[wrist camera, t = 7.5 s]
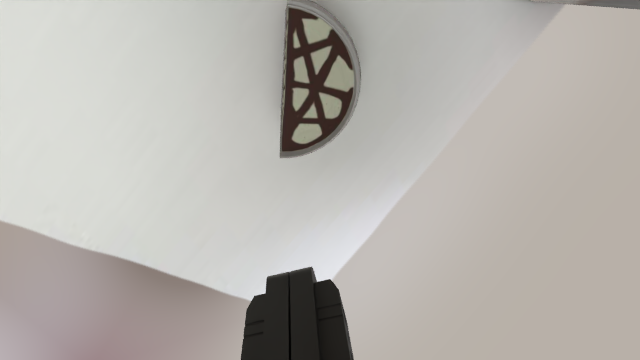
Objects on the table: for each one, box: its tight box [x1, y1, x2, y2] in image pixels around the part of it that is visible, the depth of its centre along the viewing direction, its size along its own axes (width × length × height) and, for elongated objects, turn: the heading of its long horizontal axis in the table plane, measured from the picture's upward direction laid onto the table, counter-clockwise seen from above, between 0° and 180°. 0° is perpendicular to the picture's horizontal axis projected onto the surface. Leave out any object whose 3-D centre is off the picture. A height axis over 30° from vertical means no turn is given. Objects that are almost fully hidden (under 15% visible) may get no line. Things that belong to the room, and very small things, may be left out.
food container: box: [280, 0, 361, 158], centre depth 32 cm, size 12×6×10 cm, turn 175°
